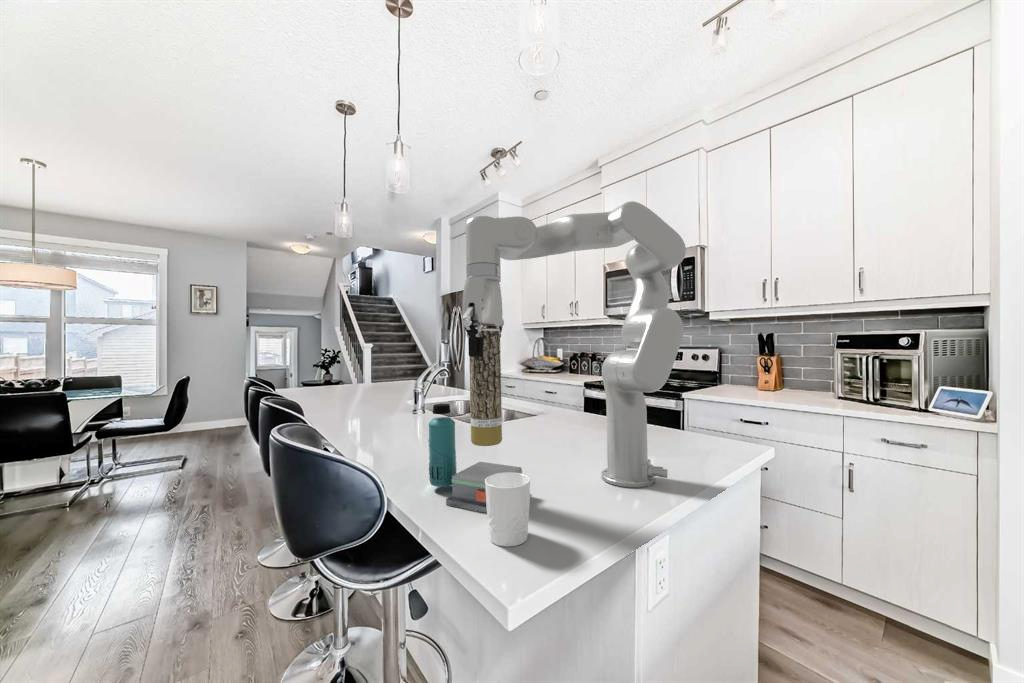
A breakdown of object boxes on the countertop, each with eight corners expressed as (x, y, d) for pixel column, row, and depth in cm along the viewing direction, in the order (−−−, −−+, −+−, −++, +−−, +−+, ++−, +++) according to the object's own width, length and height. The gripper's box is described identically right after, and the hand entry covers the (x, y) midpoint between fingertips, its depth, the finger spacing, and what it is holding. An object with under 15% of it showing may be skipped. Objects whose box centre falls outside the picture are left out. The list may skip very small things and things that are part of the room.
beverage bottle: (460, 483, 94) (458, 401, 95) (453, 494, 88) (451, 405, 88) (433, 483, 95) (432, 401, 95) (425, 493, 88) (423, 405, 89)
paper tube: (507, 441, 86) (505, 328, 86) (490, 448, 80) (488, 327, 80) (482, 438, 89) (480, 330, 90) (464, 445, 83) (462, 329, 84)
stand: (527, 493, 87) (527, 466, 87) (499, 516, 76) (499, 485, 76) (478, 485, 93) (478, 460, 93) (446, 505, 82) (445, 476, 82)
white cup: (476, 537, 67) (475, 480, 68) (509, 522, 73) (508, 469, 73) (508, 554, 62) (506, 491, 62) (540, 536, 67) (539, 479, 67)
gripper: (489, 282, 95) (490, 355, 94) (445, 270, 79) (447, 357, 79) (516, 279, 91) (517, 354, 91) (476, 266, 76) (478, 357, 76)
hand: (485, 355), depth 85 cm, fingers closed on paper tube, 6 cm apart
